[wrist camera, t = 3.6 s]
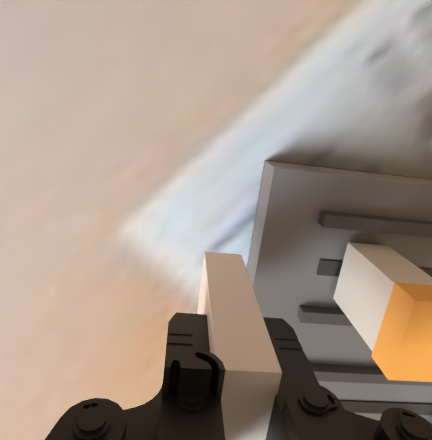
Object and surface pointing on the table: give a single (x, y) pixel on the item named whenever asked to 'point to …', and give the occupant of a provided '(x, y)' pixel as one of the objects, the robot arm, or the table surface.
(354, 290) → the block
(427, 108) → the table surface
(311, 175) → the console
